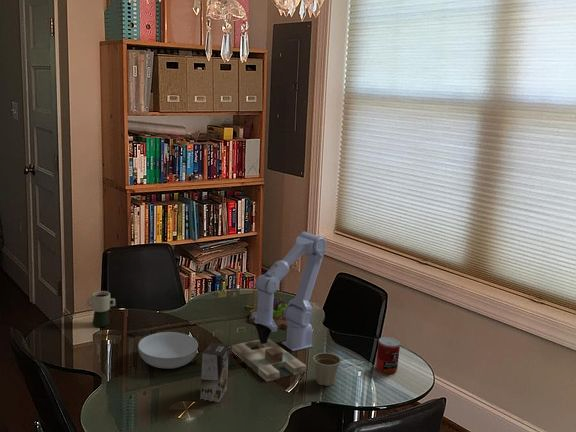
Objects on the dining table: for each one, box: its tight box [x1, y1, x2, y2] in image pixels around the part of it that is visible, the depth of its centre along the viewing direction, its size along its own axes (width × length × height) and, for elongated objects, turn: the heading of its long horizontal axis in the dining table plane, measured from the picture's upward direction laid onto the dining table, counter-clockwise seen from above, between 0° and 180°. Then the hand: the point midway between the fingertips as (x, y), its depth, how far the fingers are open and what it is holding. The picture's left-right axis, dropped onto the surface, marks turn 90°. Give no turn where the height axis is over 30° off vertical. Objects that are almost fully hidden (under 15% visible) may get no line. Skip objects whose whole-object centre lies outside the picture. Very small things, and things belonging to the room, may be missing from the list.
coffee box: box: [200, 342, 230, 403], centre depth 210 cm, size 9×6×16 cm
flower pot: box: [313, 352, 342, 387], centre depth 224 cm, size 9×9×9 cm
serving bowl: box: [137, 331, 199, 369], centre depth 231 cm, size 21×21×7 cm
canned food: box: [375, 336, 401, 375], centre depth 236 cm, size 8×8×11 cm
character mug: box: [86, 290, 116, 328], centre depth 258 cm, size 11×7×13 cm, turn 97°
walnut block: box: [265, 347, 283, 364], centre depth 233 cm, size 4×4×4 cm
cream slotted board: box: [230, 337, 307, 382], centre depth 237 cm, size 16×26×2 cm, turn 33°
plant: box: [248, 297, 288, 330], centre depth 275 cm, size 20×20×11 cm
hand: (263, 342), depth 239 cm, fingers closed
